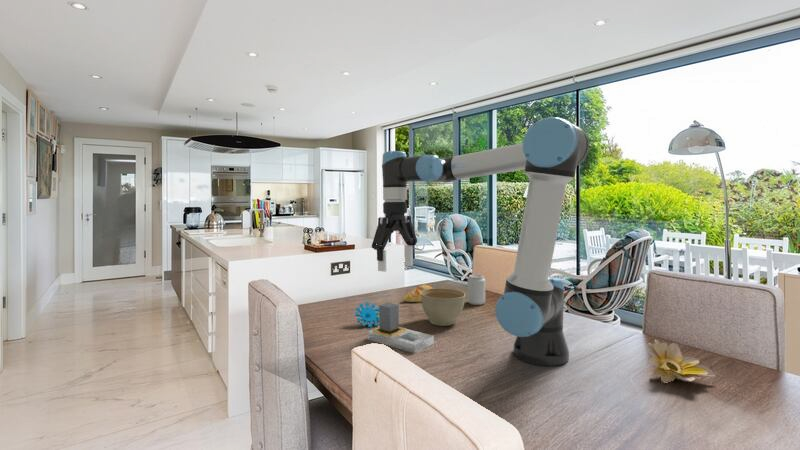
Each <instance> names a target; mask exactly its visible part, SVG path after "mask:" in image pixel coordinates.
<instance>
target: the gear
mask: <svg viewBox="0 0 800 450" xmlns="http://www.w3.org/2000/svg"><path fill="white" fill-rule="evenodd" d="M364 305H365V307H364ZM369 305H370V302H368V301H366V302H365V304H364V302H361V303H360V304H359V306H357V307H356V308H355V311H356V312H355V313H354V317H357V319H356V321H357V322H358V323H360V322H361V321H363V322H362V323H361V326H362V327H366V324H367V323H369V324H368V325H367V327H368V328H370V329H371V328H373V327H377V326H378V327H379V307H377V308H375V307H376V303H372V304H371V306H369ZM360 308H361V309H360ZM372 323H374V324H372Z"/></svg>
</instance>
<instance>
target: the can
mask: <svg viewBox="0 0 800 450" xmlns="http://www.w3.org/2000/svg"><path fill="white" fill-rule="evenodd" d="M468 276H469V277H468V278H467V300H466V301H467V302H468V303H469V304H470V305H473V306H480V305H483V304H485V303H486V279H485V276H484V275H482V274H470V275H468Z"/></svg>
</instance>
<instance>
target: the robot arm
mask: <svg viewBox="0 0 800 450" xmlns="http://www.w3.org/2000/svg"><path fill="white" fill-rule="evenodd" d="M589 149H590V140H589V137H588V135H587V133H586V132H585V131H584V130H583V129H582V128H581V127H579V126H578V125H576V124H573V123H572V122H571V121H570V120H568V119H566V118H563V117H562V118H561V117H555V116H554V117H553V116H552V117H545V118H542V119H539V120H537V121H536V122H535V123H533V124H532V125H531V126H530V127H529V128H527V131H526V133H525V135H524V137H523V141H522V143H521V142H520V143H515V144H511V145H506V146H501V147H496V148H490V149H485V150H480V151H474V152H470V153H464V154H460V155H455V156H448V157H443V158H442V157H439V156H438V155H435V154H424V155H415V156H407V154H406V152H405V151H401V150H389V151H385V152H383V154H382V165H381V169H382V172H381V173H382V200H383V204H382V213H383V214H385V217H383V216H380V217H378V218H377V219H378V220H377V227H376V229H375V230H376V231H375V232H374V237H373V241H372V244H371V248H372V249H373V250H375V251H376V261H377V271H378V272H385V273H386V272H387V250H386V249H385V248H386V246H387V244H388V242H389V240H390V238H391V236H392V233H394V232H397V231H398V232H399V234H400V236H401V237H402V239H403V241H404V242H405V245H404V266H412V267H413V266H414V259H413V257H414V256H413V255H414V246H416V244H417V243H418V238H417V236H416V235H417V234H416V232H415V228H414V226H413V221H412V216H411V215H406V214H407V213H408V203H407V202H406V201H407V199H408V187H407V186H408V185H407V182H408V183H410V182H435V183H436V182H437V183H445V184H446V183H452V182H455V181H457V180H458V181H459V180H464V179H472V178H478V177H484V176H490V175H491V176H492V175H497V174H505V173H512V172H516V171H524V172H523V173H524V174H525V175H526V177H527V179H528V181H529V182H528V188H527V194H526V198H525V205H524V210H523V215H522V216H523V217H522V221H521V227H520V234H519V239H518V247H517V251H516V255H515V263H514V269H513V272H512V273H511V274H508V276H507V277H506V280H505V286H504V289H503V290H504V292H503V294H502V295H500V297H499V298H498V299H497V301H496V303H495V308H494V311H495V317H496V320H497V322H498V324H500V326H501V327H502V329H503V330H504V331H505V332H507V333H508V334H510V335H513V336H514V337H515V341H514V343H513V347H512V349H513V355H514V357H516V358H517V359H518V360H520V361H522V362H525V363H528V364H532V365H538V366H544V367H545V366H547V367H548V366H551V367H553V366H560V365H561V366H562V365H564V364H566V363H568V362H569V359H570V351H569V346H568V343H567V340H566V337H565V335H564V309H565V308H564V305H565V303H564V301H565V300H564V299H565V284H564V281H563V279H562V278H559V277H554V276H550V273H551V267H552V263H553V258H554V252H555V247H556V241H557V235H558V231H559V226H560V220H561V219H560V218H561V215H562V214H561V213H562V209H563V203H564V198H565V193H566V188H567V185H568V183H570V182H571V181H573V180H574V179H575V176H576V172H577V166H579V165H580V164H581V163H583V161H584V160H585V159H586V157H587V155H588V154H589ZM567 361H568V362H567Z"/></svg>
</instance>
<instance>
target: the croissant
mask: <svg viewBox="0 0 800 450" xmlns="http://www.w3.org/2000/svg"><path fill="white" fill-rule="evenodd" d="M432 288H434V287H433V286H431V285H430V284H423V283H422V284H421V285H418V286H417V287H415V288H414V289H412V290H411V291H410V292H407V294H406V295H405V296H402V300H403V302H406V303H407V302H408V303H422V301H421V291H423V290H426V289H432Z"/></svg>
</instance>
